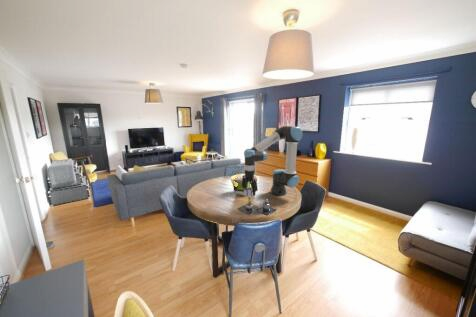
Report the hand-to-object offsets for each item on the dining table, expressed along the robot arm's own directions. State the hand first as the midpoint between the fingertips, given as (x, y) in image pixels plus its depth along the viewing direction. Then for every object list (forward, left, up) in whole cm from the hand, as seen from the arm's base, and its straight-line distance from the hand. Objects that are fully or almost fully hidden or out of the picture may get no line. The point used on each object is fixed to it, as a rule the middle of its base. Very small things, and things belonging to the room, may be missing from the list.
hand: (249, 197), depth 159 cm
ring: (0, 0, +2) cm, 2 cm away
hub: (0, 0, -10) cm, 10 cm away
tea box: (-20, -29, -10) cm, 37 cm away
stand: (-8, +11, -10) cm, 17 cm away
